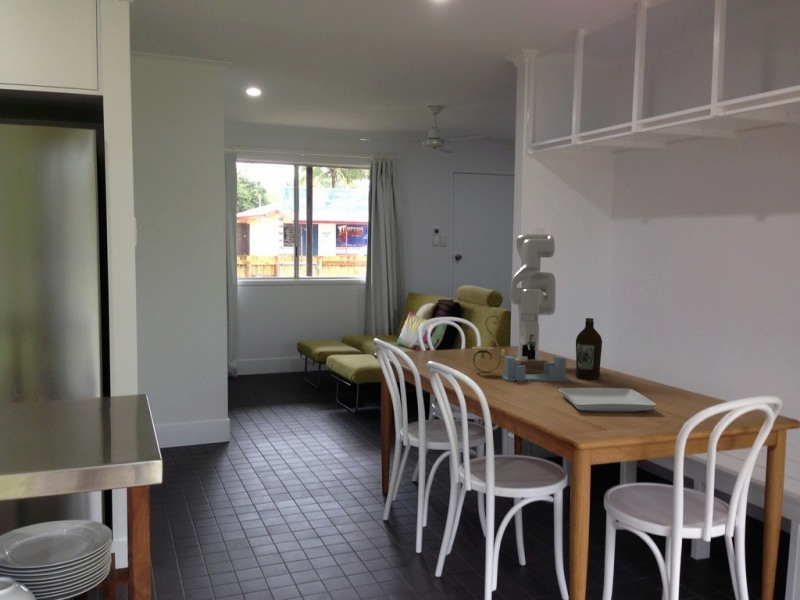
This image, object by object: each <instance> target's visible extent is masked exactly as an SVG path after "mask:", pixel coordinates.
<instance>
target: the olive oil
mask: <svg viewBox="0 0 800 600" xmlns="http://www.w3.org/2000/svg"><path fill="white" fill-rule="evenodd" d="M594 319H595V318H593V317H586V318H585V323H584V324H585V326H584V328H583V329H582V330H581V331H580V332H579V333H578V334H577V336H576V339H575V373H576V374H575V377H576V378H577V379H580V380H584V379H585V380H586V381H595V380H596V379H597V380H599V379H600V373H601V372H600V371H601V359H602V348H603V340H602V336H601V335H600V333H599V332H598V331H597V330H596V329H595V328H594V324H595V322H594Z"/></svg>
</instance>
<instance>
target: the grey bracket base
mask: <svg viewBox="0 0 800 600" xmlns="http://www.w3.org/2000/svg"><path fill="white" fill-rule="evenodd" d="M515 358H516V357H514V356H512V355H505V356H504V365H503V373H501V374H500V377H501V378H502V380H504V379H505V380H506V381H505V380H504V381H505V382H525V381H524V380H528V381H527V382H532V381H531V380H535V381H534V382H570V378H568V377H567V376H566V375H567V373H566V371H567V358H566V357H564V356H562V355H554V356H553V362H548V363H544V374H525V366H521V363H515ZM515 380H517V381H515Z"/></svg>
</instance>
